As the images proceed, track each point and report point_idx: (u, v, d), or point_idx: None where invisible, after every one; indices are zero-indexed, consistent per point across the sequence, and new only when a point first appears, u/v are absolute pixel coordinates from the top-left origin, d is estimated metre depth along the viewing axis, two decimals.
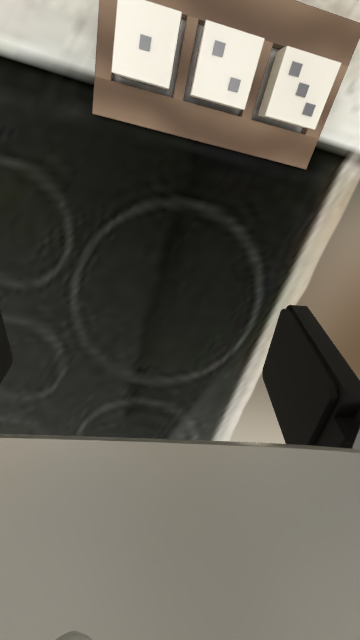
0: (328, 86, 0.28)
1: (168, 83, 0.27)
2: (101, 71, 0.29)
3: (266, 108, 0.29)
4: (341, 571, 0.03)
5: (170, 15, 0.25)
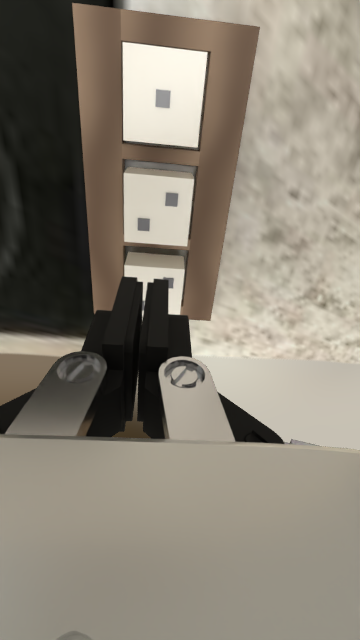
0: None
1: (128, 138, 0.21)
2: (128, 22, 0.20)
3: (131, 264, 0.26)
4: (341, 571, 0.03)
5: (192, 133, 0.21)
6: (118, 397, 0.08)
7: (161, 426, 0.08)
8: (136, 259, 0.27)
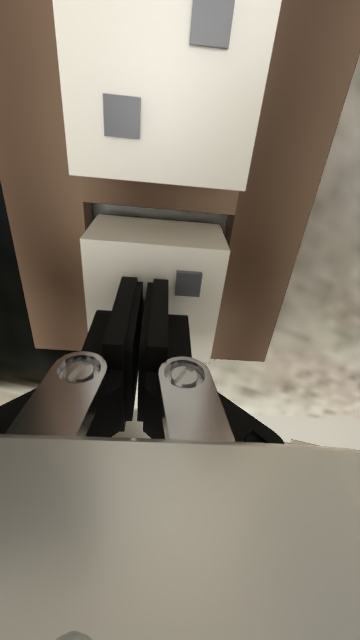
0: None
1: None
2: None
3: (99, 236, 0.11)
4: (341, 571, 0.03)
5: None
6: (118, 397, 0.08)
7: (161, 426, 0.08)
8: (113, 227, 0.12)
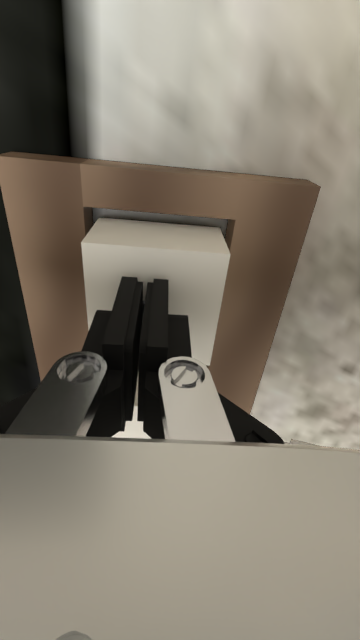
0: None
1: None
2: (94, 182, 0.12)
3: None
4: (341, 571, 0.03)
5: (202, 349, 0.13)
6: (118, 397, 0.08)
7: (161, 425, 0.08)
8: None
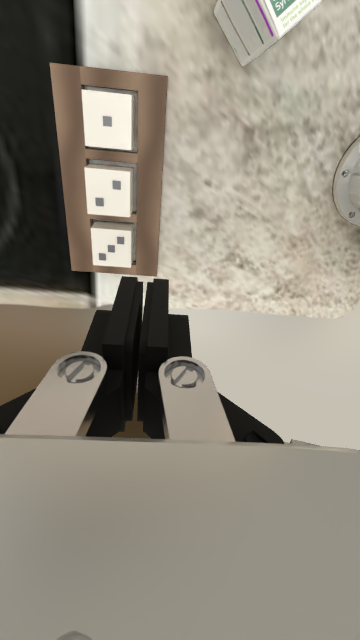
0: (117, 264, 0.42)
1: (88, 145, 0.34)
2: (84, 73, 0.33)
3: (95, 227, 0.40)
4: (341, 571, 0.03)
5: (127, 141, 0.34)
6: (118, 397, 0.08)
7: (161, 425, 0.08)
8: (99, 225, 0.40)
